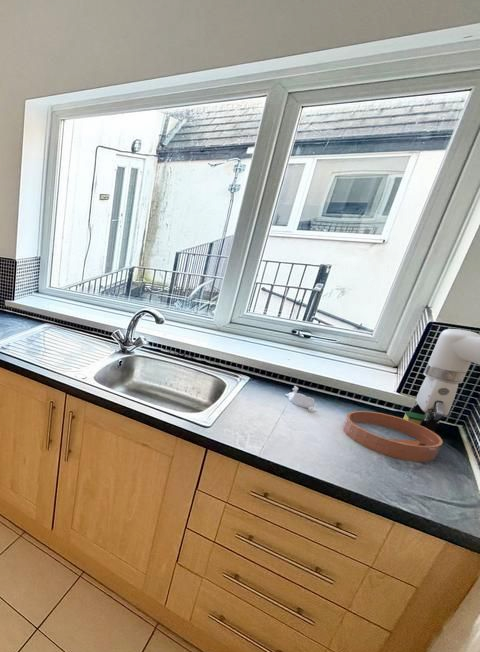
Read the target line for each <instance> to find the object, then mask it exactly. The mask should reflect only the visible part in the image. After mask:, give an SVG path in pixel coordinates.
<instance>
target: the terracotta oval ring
mask: <svg viewBox="0 0 480 652" xmlns="http://www.w3.org/2000/svg"><path fill="white" fill-rule="evenodd" d="M357 423H361V424H369V425H370V424H371V425H376V426H380V427H384V428H389V429H391V430H394V431H398V432H400V433H402V434H406V435H408V436H410V437H412V438H414V439H415V440H413V439H412V440H411V439H396V438H395V439H394V438H393V439H392V438H385V437H384V436H380V435H377V434H375V433H372V432H370V431H368V430H366V429H364V428H362V427H360V426H359V425H357ZM342 431H343V433H344V434H345V435H346V436H348V438H350V439H351V440H352V441H354V442H355V443H357V444H359V445H360V446H363V447H365V448H367V449H369V450H371V451H373V452H377V453H378V454H381V455H384V456H388V457H391V458H394V459H397V460H398V459H399V460H403V461H407V462H417V463H418V462H419V463H424V462H431V461H433V460H435V459H436V458H437V456H438V454H439V452H440V450H441V448H442V446H443V442H444V441H443V439H442V438H441V436H440V435H439V434H437V433H436V432H435V433H434V432H433V431H431V430H429V429H427V428H426V427H423V426H421V425H419V424H416V423H414V422H411V421H408V420H405V419H403V418H402V417H399V416H396V415H395V416H394V415H392V414H386V413H382V412H378V411H377V412H375V411H370V410H369V411H367V410H355V411H351V412H348V413H347V414H346V416H345V419H344V422H343V424H342ZM419 443H423V444H427V445H431V446H418V445H419Z"/></svg>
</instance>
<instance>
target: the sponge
mask: <svg viewBox="0 0 480 652" xmlns="http://www.w3.org/2000/svg"><path fill="white" fill-rule="evenodd" d="M430 416H431V415H429V417H430ZM424 418H425V415H423V414H418V413H413V412H412V411H408V410H406V411H405V413H404V416H403V418H402V419H405V420H408V421H411V422H414V423H416V424H419V425H420V423H421V421H422V419H423V420H424Z"/></svg>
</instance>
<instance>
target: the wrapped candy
mask: <svg viewBox="0 0 480 652" xmlns="http://www.w3.org/2000/svg"><path fill="white" fill-rule="evenodd" d="M291 390H292V392H288V393H285V394H284V396H285V397H286V398H287V399H288V400H289V401H290V402H291V403H292V404H294V405H296V406H298V407H301V408H305V409H307V411H308V413H316V412H317V410H316V409H314V408H315V405H316V406H318V404H317V403H315V398H314V397H311V396H306V395H305V394H302V393H298V391H299V386H297V385H293V388H291Z"/></svg>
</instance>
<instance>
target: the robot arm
mask: <svg viewBox="0 0 480 652" xmlns="http://www.w3.org/2000/svg"><path fill="white" fill-rule="evenodd" d="M472 363H473V364H476V365H479V366H480V334H479V333H477V332H475V331H470V330H467V329H459V328H446V329H444V330H442V331H441V332H440V334H439V335H438V337H437V341H436V343H435V345H434V348H433V350H432V353H431V355H430V357H429V359H428V362H427V364H426V367H425V369H424V371H423V374H422V375H423V376H425V378H424V380H423V382H422V383H421V385H420V388H419V390H418V393H417V395H416V399H415V400H416V402H415V403H414V406H413V407H412V410H411V412H413V413H418V414H423V415H425V418H424V420H423V419H422V421H421V423H420V425H421V426H423V427H426V428H427V429H429V430H431V431H433V432H434V433H436V430H437V428H438V426H439V424H440V422H441V420H442V417H447V416H448V415H449V413H450V411H451V409H452V405H453V404H454V401H455V398H456V395H457V392H458V387H459V384H462V383H463V381H464V379H465V377H466V375H467V373H468V370H469V368H470V367H471V364H472ZM429 416H430V417H429Z"/></svg>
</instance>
